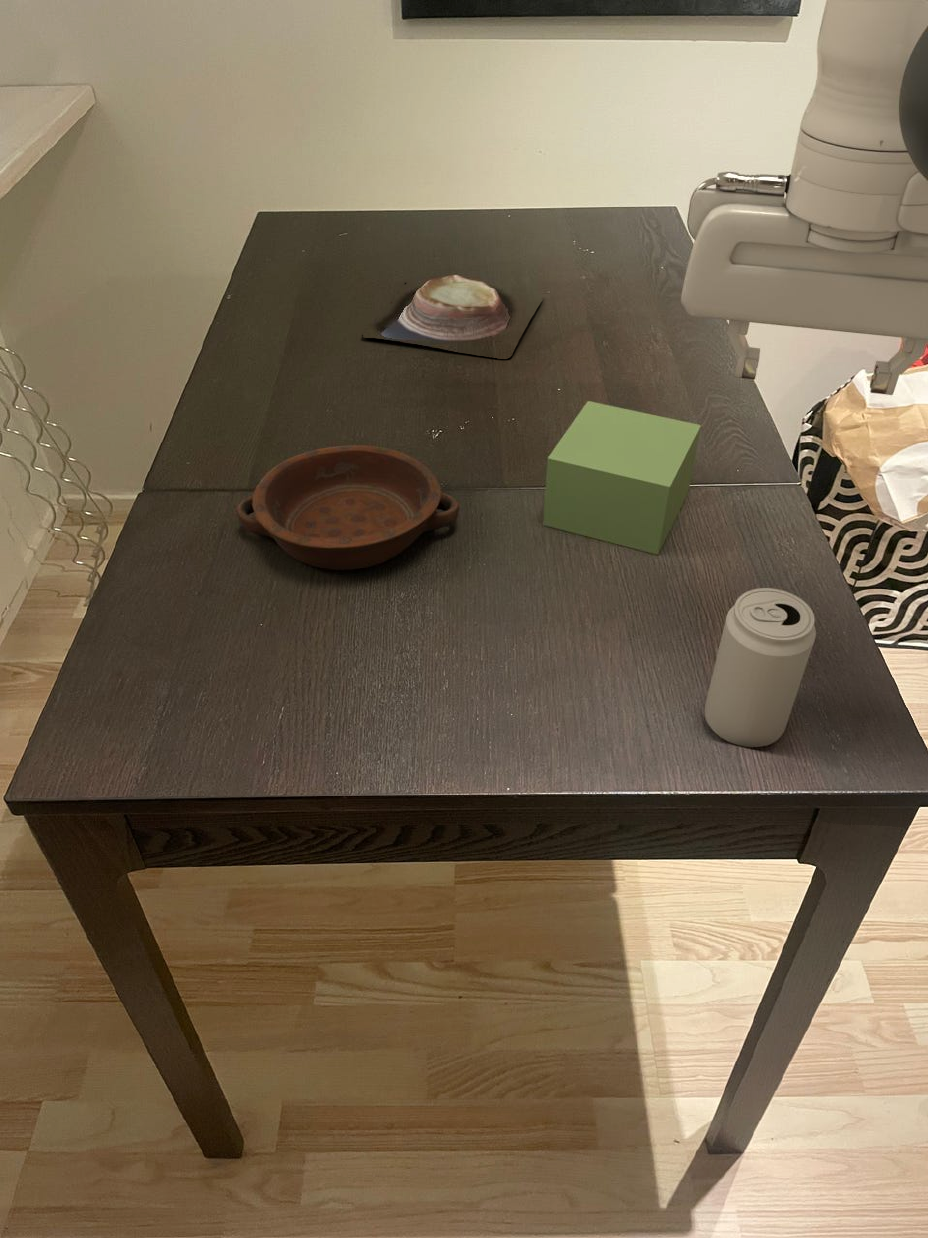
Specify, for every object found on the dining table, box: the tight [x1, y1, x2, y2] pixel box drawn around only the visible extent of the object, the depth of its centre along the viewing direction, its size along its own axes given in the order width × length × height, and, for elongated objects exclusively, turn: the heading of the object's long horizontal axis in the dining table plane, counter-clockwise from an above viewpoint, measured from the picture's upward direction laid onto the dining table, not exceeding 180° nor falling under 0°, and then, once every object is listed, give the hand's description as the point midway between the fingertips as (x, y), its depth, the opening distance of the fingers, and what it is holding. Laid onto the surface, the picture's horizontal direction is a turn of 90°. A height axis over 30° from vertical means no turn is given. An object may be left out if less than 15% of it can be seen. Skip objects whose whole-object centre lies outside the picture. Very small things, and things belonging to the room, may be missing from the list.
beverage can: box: [704, 587, 817, 748], centre depth 73 cm, size 6×6×12 cm
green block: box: [542, 400, 702, 556], centre depth 96 cm, size 12×12×8 cm
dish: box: [236, 444, 460, 571], centre depth 94 cm, size 18×22×5 cm
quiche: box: [381, 274, 510, 342], centre depth 131 cm, size 21×20×4 cm
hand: (811, 382), depth 69 cm, fingers open, 8 cm apart
